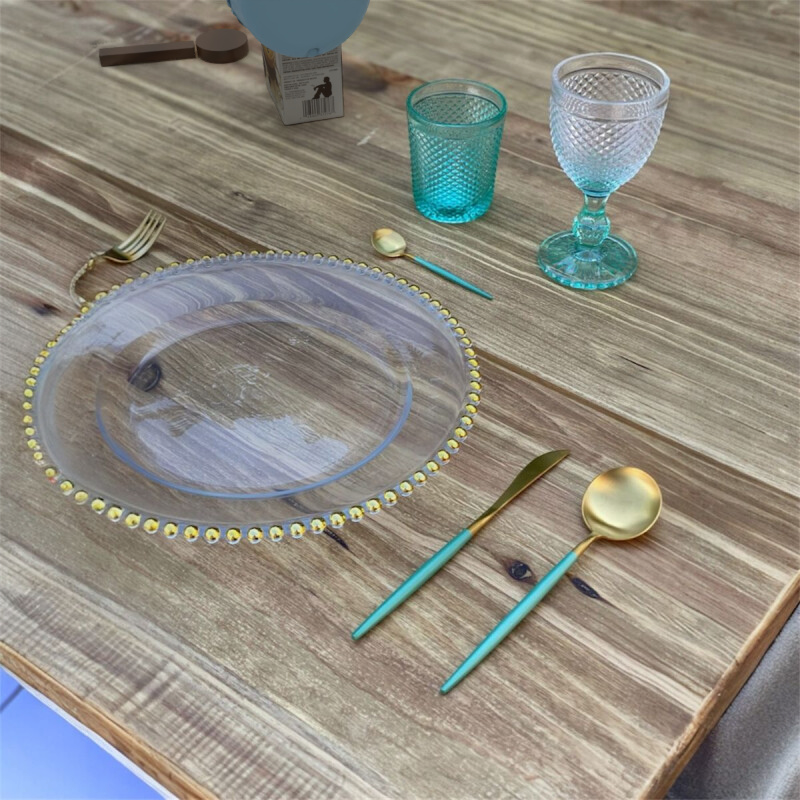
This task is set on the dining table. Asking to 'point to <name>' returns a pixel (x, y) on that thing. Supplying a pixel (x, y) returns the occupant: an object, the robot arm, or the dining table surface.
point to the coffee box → (305, 85)
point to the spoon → (183, 49)
